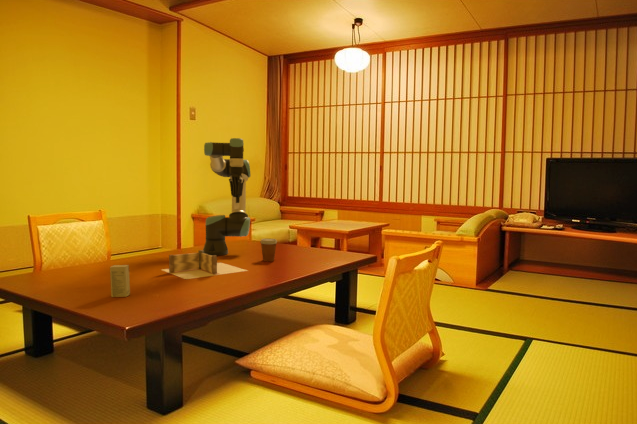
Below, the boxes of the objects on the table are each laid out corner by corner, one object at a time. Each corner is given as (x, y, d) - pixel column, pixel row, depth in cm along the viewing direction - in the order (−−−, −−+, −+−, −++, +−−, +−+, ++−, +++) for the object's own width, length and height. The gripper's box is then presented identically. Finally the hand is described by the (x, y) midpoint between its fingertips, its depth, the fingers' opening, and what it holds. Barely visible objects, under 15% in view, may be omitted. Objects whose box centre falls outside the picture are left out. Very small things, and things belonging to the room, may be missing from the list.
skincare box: (130, 294, 202) (129, 264, 201) (126, 297, 198) (126, 266, 197) (114, 294, 202) (113, 264, 201) (110, 297, 198) (109, 266, 197)
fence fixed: (202, 268, 257) (201, 250, 256) (204, 269, 255) (204, 250, 254) (169, 272, 245) (168, 253, 245) (171, 273, 244) (170, 254, 243)
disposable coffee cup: (276, 262, 279) (276, 240, 279) (259, 261, 280) (259, 240, 279) (277, 259, 289) (277, 238, 288) (261, 258, 289) (261, 238, 288)
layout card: (160, 270, 252) (160, 269, 252) (220, 263, 274) (220, 262, 274) (185, 280, 230) (185, 279, 230) (248, 271, 252) (248, 270, 252)
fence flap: (200, 268, 253) (200, 251, 253) (203, 268, 255) (203, 251, 254) (213, 273, 241) (213, 256, 241) (217, 273, 243) (216, 255, 242)
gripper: (224, 166, 281) (224, 208, 282) (236, 166, 271) (236, 209, 273) (236, 166, 285) (236, 207, 287) (248, 166, 276) (248, 209, 277)
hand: (236, 208), depth 280 cm, fingers closed
